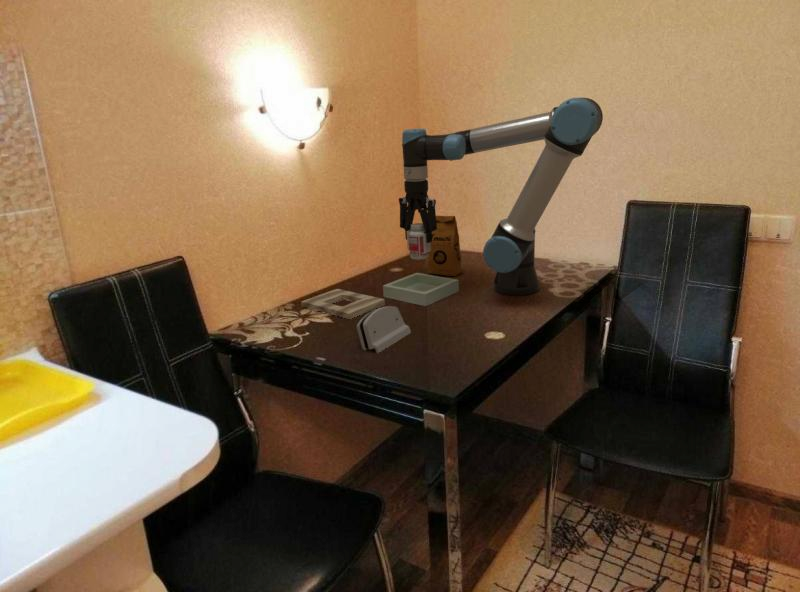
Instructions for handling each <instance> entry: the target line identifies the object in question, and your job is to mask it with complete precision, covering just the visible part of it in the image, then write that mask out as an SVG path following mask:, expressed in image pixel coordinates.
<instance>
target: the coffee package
mask: <svg viewBox="0 0 800 592" xmlns="http://www.w3.org/2000/svg"><path fill="white" fill-rule="evenodd" d="M436 223H437V230H435V231H432V242H431V251H430V252H429V257H428V258H427V274H428V275H436V276H438V275H439V276H443V277H445V276H448V277H457V276H458V275H459V274H462V255H461V244H460V236H459V235H460V234H459V230H458V222H457V219H456V216H455V215H436Z"/></svg>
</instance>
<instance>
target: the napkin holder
mask: <svg viewBox="0 0 800 592" xmlns="http://www.w3.org/2000/svg"><path fill="white" fill-rule="evenodd" d="M356 330H357V333H358V337H359V341H360V345H361V349H362V350H363V349H364V350H363V351H367V350H373V349H374V350H375V352H376V354H379V352H380V353H381V352H383V351H384V350H385V348H386V349H388V348H389V347H391V346H392V345H394V344H395V343H397V342H399V341H400V340H402V339H403V338H405V337H406V336H408V335H410V334H411V333H412V330H411V329H410V326H409V325H407V324H406V323H405V321H404V318H403V317H402V315H401V312H400V310H399V308H398V307H397V306H391V305H389V306H388V305H387V306H382V307H379V308H377V309H374V310H372V311H370V312H367V313H365V314H364V316H363V317H362V318H361V319H360V320H359V321H358V322H357V324H356ZM382 350H383V351H382Z"/></svg>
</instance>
